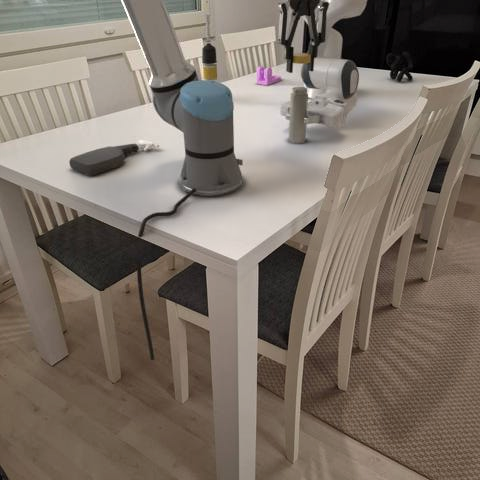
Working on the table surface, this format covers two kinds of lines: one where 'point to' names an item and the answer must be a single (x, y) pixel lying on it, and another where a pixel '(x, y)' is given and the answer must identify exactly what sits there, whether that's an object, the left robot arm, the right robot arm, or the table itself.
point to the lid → (301, 58)
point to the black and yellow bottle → (209, 57)
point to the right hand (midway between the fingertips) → (296, 119)
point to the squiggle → (399, 66)
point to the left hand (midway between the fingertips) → (299, 70)
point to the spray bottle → (106, 157)
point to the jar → (298, 114)
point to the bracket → (266, 76)
